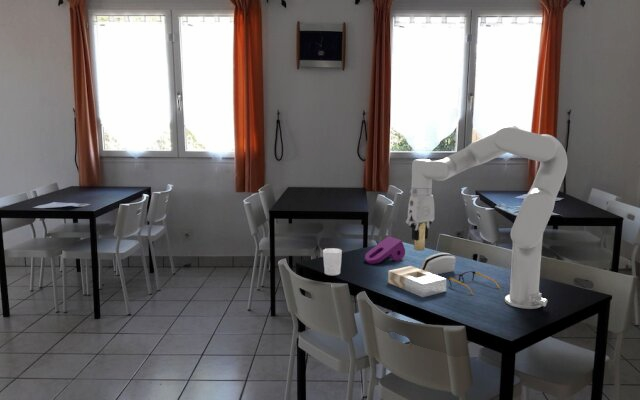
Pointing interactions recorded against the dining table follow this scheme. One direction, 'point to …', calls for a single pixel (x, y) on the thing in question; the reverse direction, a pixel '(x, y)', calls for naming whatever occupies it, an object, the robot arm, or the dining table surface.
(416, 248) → the brass pin
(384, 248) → the mounting bracket
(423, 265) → the white black arched block
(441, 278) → the gray notched block
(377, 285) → the dining table surface
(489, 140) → the robot arm
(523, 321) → the dining table surface
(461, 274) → the eyeglasses
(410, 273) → the notched wooden block
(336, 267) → the white cup
